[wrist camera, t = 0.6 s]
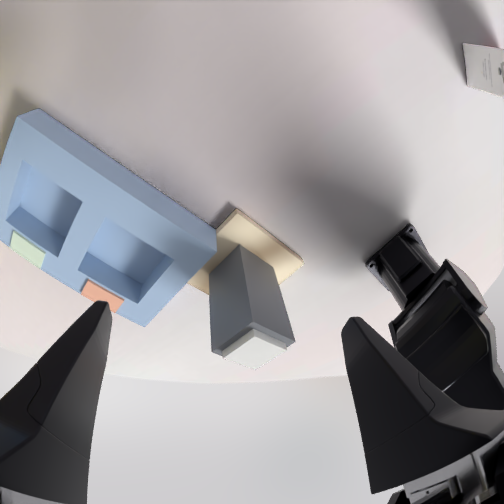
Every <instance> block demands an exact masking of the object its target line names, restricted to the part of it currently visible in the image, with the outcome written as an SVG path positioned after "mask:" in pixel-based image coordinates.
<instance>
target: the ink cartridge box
mask: <svg viewBox="0 0 504 504" xmlns="http://www.w3.org/2000/svg"><path fill="white" fill-rule="evenodd" d="M463 50H464V57H465V65H466V75H467V85H468V87H470V88H473V89H477V90H480V91H483V92H486V93H490V94H493V95H496V96H499V97H502V98H504V49H501V48H495V47H489V46H482V45H475V44H467V43H463Z"/></svg>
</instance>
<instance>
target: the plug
mask: <svg viewBox="0 0 504 504" xmlns="http://www.w3.org/2000/svg"><path fill="white" fill-rule="evenodd" d="M209 302H210V328H211V349H212V352H213V353H215V354H218V355H221V356H223V359H226V360H228V361H231V362H234V363H237V364H239V365H242V366H245V367H248V368H251V369H254V370H257V369H258V368H260V367H262V366H263V365H265V364H267V363H268V362H270V361H271V360H273V359H275V358H276V357H278V356H279V355H281V354H282V353H284V352H285V351H287V347H288V346H290V345H291V344H293V343H294V342H295V338H294V335H293V331H292V328H291V325H290V321H289V318H288V314H287V311H286V308H285V304H284V301H283V298H282V294H281V291H280V287H279V284H278V281H277V277H276V274H275V271H274V268H273V267H272V266H271V265H269V264H268V263H266V262H265V261H263V260H262V259H261V258H259V257H258V256H256V255H255V254H253V253H252V252H250V251H249V250H247V249H246V248H245V247H243V246H242V245H240V244H239V245H238V246H237V247H236V248H235V249H234V250H233V251H232V252H231V253H230V254H229V255H228V256H227V257H226V258H225V259H224V260H223V261H222V262H221V263H220V264H219V265H218V266H217V267H216V268H215V269H214V270H213V271H211V272H210V273H209Z"/></svg>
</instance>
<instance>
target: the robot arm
mask: <svg viewBox="0 0 504 504" xmlns="http://www.w3.org/2000/svg"><path fill="white" fill-rule="evenodd" d="M370 264H371V265H370ZM366 267H367V268H368V269H369V271H370V272H371V273H372V274H373V275H374V276H375V277H376V278H377V279H378V280H379V281H380V282H381V283H382V284H383V286H384V287H385V288H386V289H387V290H388V291H390V292H391V293H392V295H393V296H394V298H395V300H396V301H397V303H398V304H399V306H400V308H401V309H402V312H401V313H400V314H399V315H398V316H397V317H396V318H395V319H394V320H393V321H391V322H390V323H389V324H388V326H389V329H390V333H391V336H392V340H393V344H394V347H393V346H391V345H390V344H389V343H388V342H387V341H386V340H385V339H384V338H383V337H382V336H381V335H379V334H378V333H377V332H376V331H375V330H374V329H373V328H372V327H371V326H370V325H368V324H367V323H366V322H365V321H364V320H363V319H362V318H361V317H350V318H349V319H348V321H347V323H346V324H345V326H344V327H343V329H342V332H341V337H342V343H343V350H344V357H345V364H346V369H347V374H348V378H349V382H350V386H351V391H352V395H353V399H354V404H355V408H356V413H357V417H358V422H359V427H360V431H361V437H362V442H363V447H364V452H365V458H366V464H367V470H368V476H369V482H370V489H371V493H372V494H375V493H378V492H382V491H385V490H388V489H391V488H394V487H397V486H400V485H403V486H404V489H402V490H400V491H398V492H395V493H393V494H392V496H391V498H390V500H389V502H388V504H504V373H503V371H502V369H501V368H500V366H499V365H498V363H497V350H496V337H495V328H494V325H493V324H492V322H491V321H490V319H489V318H488V316H487V315H486V314H485V310H486V309H487V308H488V307H487V305H486V303H485V301H484V299H483V297H482V295H481V293H480V292H479V290H478V288H477V286H476V285H475V283H474V282H473V281H472V280H471V279H470V278H469V277H468V275H467V274H466V273H465V272H464V271H463V270H461V269H460V268H459V267H457V266H456V265H455V264H453V263H452V262H450V261H449V260H447V259H445V261H444V262H443V265H442V266H441V267H440V266H439V265H438V264H437V263H436V261H435V260H434V259H433V258H432V257H431V256H430V255H429V253H428V251H427V249H426V248H425V246H424V244H423V242H422V240H421V238H420V236H419V235H418V233H417V231H416V229H415V228H414V226H413V225H411V224H409V225H407V226H406V227H405V228H404V229H403V230H402V231H401V232H400V233H399V234H398V235H396V236H395V237H394V238H393V239H392V240H391V241H390V242H389V243H388V244H386V245H385V246H384V247H383V248H382V249H381V250H380V251H378V252H377V253H376V254H375V255H374V256H373V257H372V258H370V259H369V260H368V261H367V262H366ZM111 326H112V315H111V311H110V306H109V303H108V302H107V301H101V300H97V301H96V302H95V303H94V304H93V305H92V306H90V307H89V308H88V309H87V310H86V311H85V312H84V313H83V314H82V315H81V316H80V317H79V318H78V319H77V320H76V321H75V322H74V323H73V324H72V325H71V326H70V327H69V328H68V330H67V331H66V332H65V333H64V334H63V335H62V336H61V337H60V338H59V339H58V340H57V341H56V342H55V343H54V344H53V345H52V346H51V347H50V348H49V349H48V351H47V352H46V353H45V354H44V355H43V356H42V357H41V358H40V359H39V360H38V362H37V363H36V364H35V365H34V366H33V367H32V368H31V369H30V370H29V371H28V373H27V374H26V375H25V376H24V377H23V378H22V379H21V380H20V381H19V382H18V383H17V384H16V385H15V386H14V387H13V388H12V389H11V390H10V391H9V392H8V393H6V394H5V395H4V396H3V397H2V398H1V399H0V504H87V486H88V472H89V459H90V451H91V443H92V436H93V428H94V422H95V416H96V410H97V404H98V399H99V394H100V389H101V384H102V379H103V375H104V371H105V366H106V361H107V355H108V347H109V339H110V332H111Z"/></svg>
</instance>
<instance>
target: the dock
mask: <svg viewBox="0 0 504 504" xmlns="http://www.w3.org/2000/svg"><path fill="white" fill-rule="evenodd" d="M0 240H1V241H2V242H3V243H4V244H6V245H7V246H8V247H10V248H11V249H12V250H13V251H15V252H16V253H18V254H19V255H20V256H22V257H23V258H25V259H26V260H27V261H29V262H30V263H32V264H33V265H35V266H36V267H38V268H39V269H41V270H43V271H44V272H46V273H47V274H49V275H51V276H52V277H54V278H55V279H57V280H59V281H60V282H62V283H63V284H65V285H67V286H68V287H70V288H72V289H73V290H75V291H77V292H78V293H80V294H81V295H83V296H85V297H87V298H88V299H90V300H92V301H94V302H96V301H97V300H101V301H107V302H108V303H109V306H110V311H112V312H114V313H117V314H119V315H121V316H123V317H125V318H127V319H129V320H131V321H133V322H135V323H137V324H139V325H141V326H143V327H145V326H146V325H147V324H148V323H149V322H150V321H151V320H152V319H153V318H154V317H155V316H156V315H157V314H158V313H159V311H160V310H161V309H162V308H163V307H164V306H165V305H166V304H167V303H168V302H169V301H170V300H171V299H172V298H173V297H174V296H175V295H176V294H177V293H178V292H179V290H180V289H181V288H182V287H183V286H184V285H185V284H186V283H187V282H188V281H189V280H190V279H191V278H192V277H193V276H194V275H195V274H196V273H197V272H198V271H199V270H200V269H201V268H202V267H203V266H204V265H205V264H206V263H207V262H208V261H209V260H210V258H211V257H212V256H213V255H214V254H215V253H216V252H217V240H216V229H214V228H213V227H211V226H210V225H208V224H207V223H205V222H204V221H202V220H201V219H199V218H198V217H197V216H195V215H194V214H192V213H191V212H189V211H188V210H186V209H185V208H183V207H182V206H180V205H179V204H178V203H176V202H175V201H173V200H172V199H170V198H169V197H167V196H166V195H164V194H163V193H162V192H160V191H159V190H157V189H156V188H154V187H153V186H151V185H150V184H148V183H147V182H145V181H144V180H143V179H141V178H140V177H138V176H137V175H135V174H134V173H132V172H131V171H129V170H128V169H127V168H125V167H124V166H122V165H121V164H119V163H118V162H116V161H115V160H113V159H112V158H111V157H109V156H108V155H106V154H105V153H103V152H102V151H100V150H99V149H97V148H96V147H95V146H93V145H92V144H90V143H89V142H87V141H86V140H84V139H83V138H82V137H80V136H79V135H77V134H76V133H74V132H73V131H71V130H70V129H68V128H67V127H66V126H64V125H63V124H61V123H60V122H58V121H57V120H55V119H54V118H53V117H51V116H50V115H48V114H47V113H45V112H44V111H42V110H41V109H39V108H38V109H35V110H32V111H29V112H27V113H24V114H21V115H19V116H17V118H16V120H15V123H14V125H13V128H12V131H11V133H10V136H9V139H8V142H7V145H6V148H5V151H4V154H3V158H2V161H1V165H0Z"/></svg>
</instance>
